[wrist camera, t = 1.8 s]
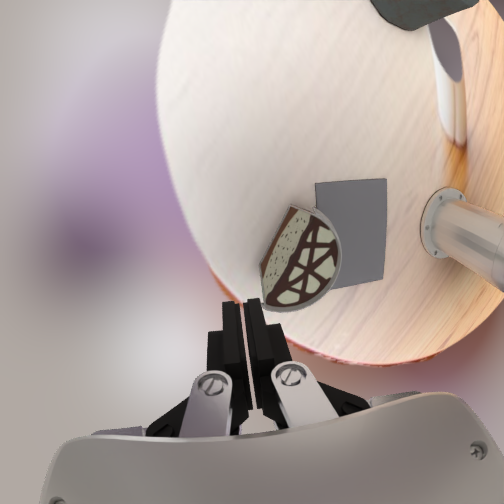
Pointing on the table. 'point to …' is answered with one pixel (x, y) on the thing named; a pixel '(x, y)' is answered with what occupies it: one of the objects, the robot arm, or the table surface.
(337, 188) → the mat
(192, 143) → the table surface
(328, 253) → the food container
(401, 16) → the bottle
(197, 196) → the table surface
